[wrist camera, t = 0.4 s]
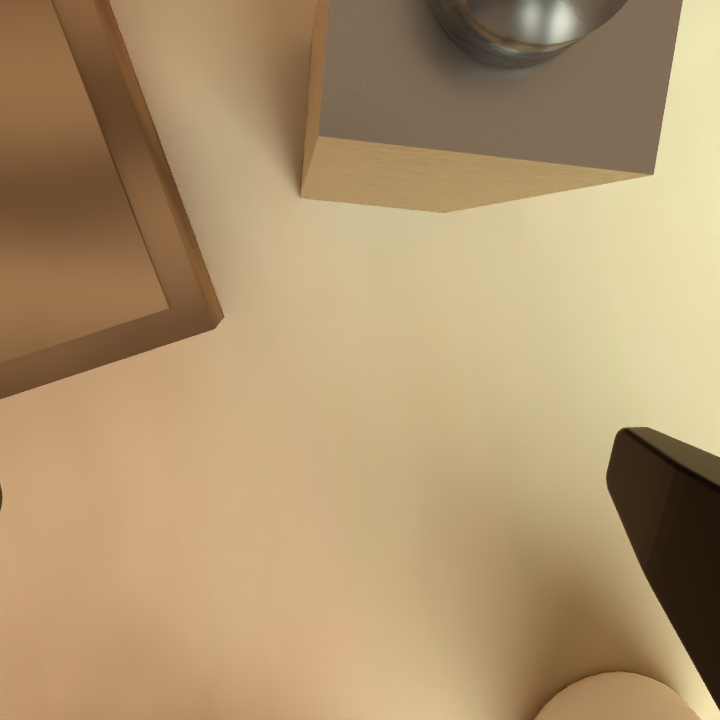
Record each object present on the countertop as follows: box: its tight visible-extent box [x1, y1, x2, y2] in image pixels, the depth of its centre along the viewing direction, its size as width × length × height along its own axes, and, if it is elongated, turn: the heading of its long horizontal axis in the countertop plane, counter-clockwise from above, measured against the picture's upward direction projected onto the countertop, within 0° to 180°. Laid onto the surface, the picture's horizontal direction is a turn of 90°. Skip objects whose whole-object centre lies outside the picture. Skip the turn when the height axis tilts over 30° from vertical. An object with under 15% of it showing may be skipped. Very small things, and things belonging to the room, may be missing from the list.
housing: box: [300, 0, 683, 213], centre depth 15 cm, size 5×5×14 cm
